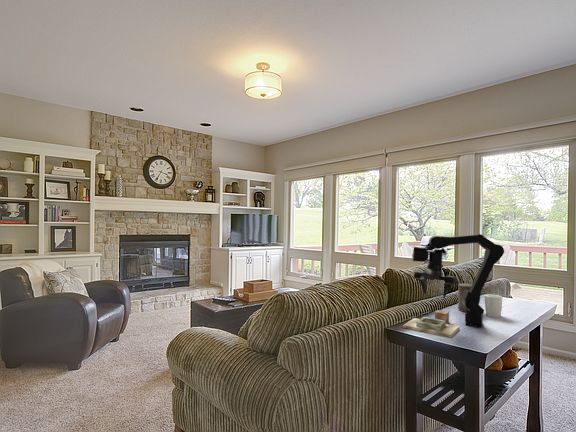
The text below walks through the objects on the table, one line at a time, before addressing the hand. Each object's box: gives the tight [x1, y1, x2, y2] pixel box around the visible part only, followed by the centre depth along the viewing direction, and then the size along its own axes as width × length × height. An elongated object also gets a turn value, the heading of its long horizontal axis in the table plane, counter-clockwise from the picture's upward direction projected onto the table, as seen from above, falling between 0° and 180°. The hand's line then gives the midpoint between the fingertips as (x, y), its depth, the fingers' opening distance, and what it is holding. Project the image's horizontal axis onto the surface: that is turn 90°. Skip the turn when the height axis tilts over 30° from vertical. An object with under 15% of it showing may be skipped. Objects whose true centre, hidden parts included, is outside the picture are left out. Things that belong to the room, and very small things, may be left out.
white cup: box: [484, 293, 503, 318], centre depth 179 cm, size 8×8×10 cm
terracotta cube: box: [434, 309, 450, 324], centre depth 167 cm, size 5×5×5 cm
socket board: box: [402, 316, 460, 338], centre depth 158 cm, size 20×14×3 cm
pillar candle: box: [457, 282, 473, 313], centre depth 188 cm, size 10×10×15 cm
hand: (434, 295), depth 167 cm, fingers open, 9 cm apart
